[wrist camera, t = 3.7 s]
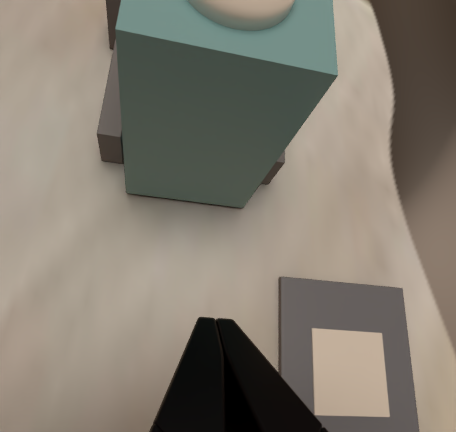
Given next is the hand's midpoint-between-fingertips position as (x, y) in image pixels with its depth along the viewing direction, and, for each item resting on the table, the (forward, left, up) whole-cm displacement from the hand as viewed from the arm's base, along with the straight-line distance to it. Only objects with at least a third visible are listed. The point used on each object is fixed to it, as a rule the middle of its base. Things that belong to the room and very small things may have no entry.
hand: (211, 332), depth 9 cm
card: (-7, -7, -12) cm, 16 cm away
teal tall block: (+9, -7, -12) cm, 16 cm away
